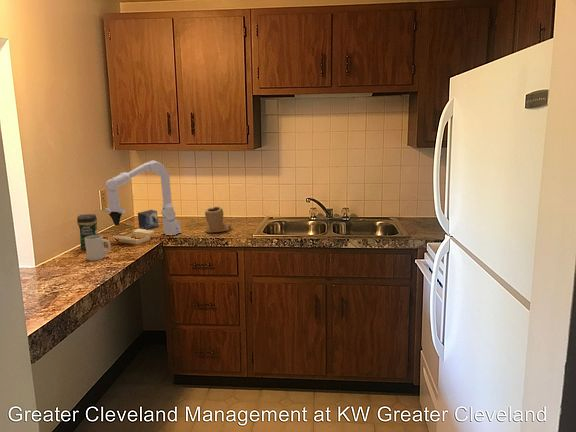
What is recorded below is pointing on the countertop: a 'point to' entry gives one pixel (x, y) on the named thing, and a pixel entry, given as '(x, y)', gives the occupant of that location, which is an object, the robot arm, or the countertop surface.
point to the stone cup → (216, 220)
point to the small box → (148, 219)
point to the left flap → (124, 237)
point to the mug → (96, 247)
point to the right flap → (144, 231)
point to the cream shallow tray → (136, 241)
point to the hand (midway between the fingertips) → (117, 225)
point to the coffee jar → (87, 227)
